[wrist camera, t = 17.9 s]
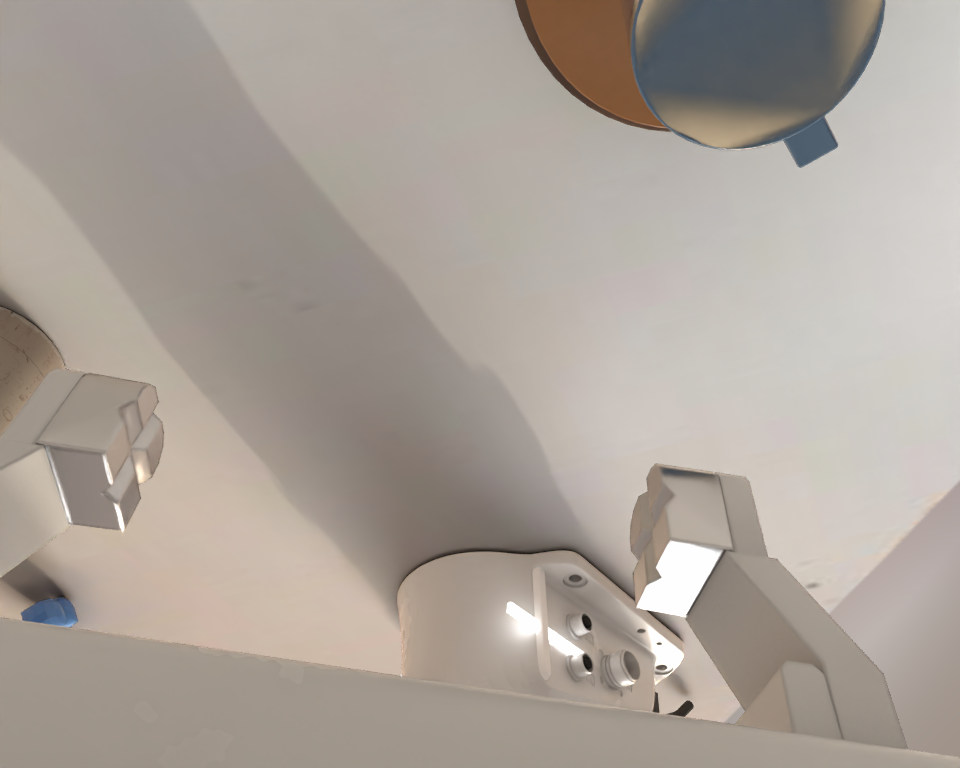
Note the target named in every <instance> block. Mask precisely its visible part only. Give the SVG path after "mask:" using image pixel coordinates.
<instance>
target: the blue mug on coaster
mask: <svg viewBox="0 0 960 768" xmlns="http://www.w3.org/2000/svg"><path fill="white" fill-rule="evenodd" d="M526 3H527V6H528V10H529V13H530V17H531V20H532V23H533V25H534V28H535V30H536V32H537V35H538V37H539V39H540V42H541V44H542V45H543V47H544V49H545V50H546V52H547V54H548V55H549V57H550V59H551V60H552V62H553V63H554V65H555V66H556V67H557V68H558V70H559V71H560V72H561V73H562V75H563V76H564V77H565V78H566V80H567V81H569V82H570V83H571V84H572V85H573V86H574V87H575V88H576V89H577V90H578V91H579V92H580V93H581V94H582V95H584V96H585V97H587V98H588V99H589V100H591V101H592V102H593V103H595V104H596V105H598V106H599V107H601V108H603V109H605V110H607V111H609V112H611V113H612V114H614V115H616V116H619V117H622V118H624V119H627V120H630V121H632V122H635V123H639V124H644V125H648V126H653V127H658V128H668V129H669V130H671V131H672V132H673V133H675V134H676V135H678V136H680V137H682V138H684V139H686V140H688V141H690V142H693V143H695V144H698V145H701V146H705V147H710V148H714V149H724V150H745V149H752V148H758V147H763V146H766V145H770V144H774V143H777V142H779V141H782V140H783V141H784V143H785V144H786V146H787V148H788V150H789V152H790V153H791V155H792V157H793V159H794V161H795V162H796V164H797V166H798V167H800V168H801V167H804V166H805V165H807V164H809V163H811V162H813V161H814V160H816V159H818V158H820V157H821V156H823V155H825V154H827V153H829V152H830V151H832V150H834V149H836V148H837V147H838V142H837V140H836V138H835V136H834V134H833V132H832V131H831V129H830V127H829V125H828V123H827V121H826V119H825V117H824V116H825V115H826V114H827V113H829V112H830V111H831V110H832V109H833V108H834V107H835V106H836V105H837V104H838V103H839V102H840V101H841V100H842V99H843V98H844V97H845V96H846V95H847V94H848V92H849V91H850V90H851V89H852V88H853V86H854V85H855V84H856V82H857V81H858V79H859V78H860V76H861V75H862V73H863V72H864V70H865V68H866V66H867V64H868V62H869V60H870V58H871V57H872V55H873V52H874V49H875V47H876V44H877V42H878V39H879V36H880V32H881V28H882V24H883V19H884V11H885V0H526Z"/></svg>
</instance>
